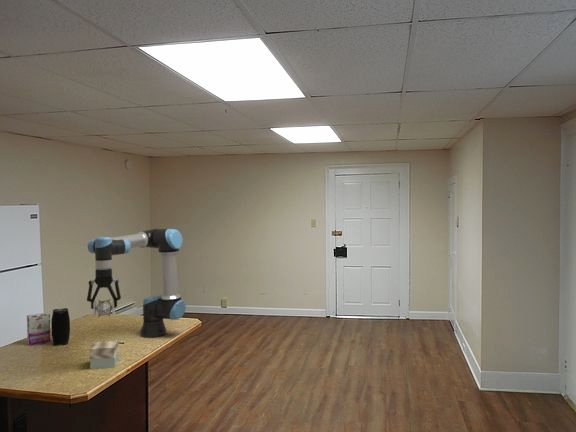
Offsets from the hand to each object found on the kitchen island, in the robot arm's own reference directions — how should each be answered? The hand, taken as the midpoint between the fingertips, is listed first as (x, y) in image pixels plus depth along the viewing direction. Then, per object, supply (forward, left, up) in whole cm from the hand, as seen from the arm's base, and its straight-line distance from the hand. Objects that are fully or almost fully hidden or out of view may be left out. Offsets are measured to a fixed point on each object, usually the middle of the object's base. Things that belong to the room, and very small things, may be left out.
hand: (104, 314), depth 220 cm
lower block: (0, 0, -25) cm, 25 cm away
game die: (0, 0, -1) cm, 1 cm away
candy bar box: (+44, -47, -25) cm, 69 cm away
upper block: (0, 0, -20) cm, 20 cm away
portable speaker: (+31, -42, -25) cm, 58 cm away
